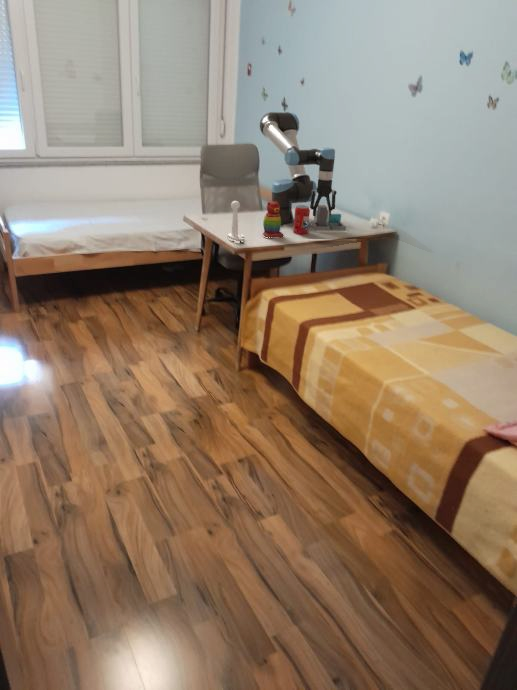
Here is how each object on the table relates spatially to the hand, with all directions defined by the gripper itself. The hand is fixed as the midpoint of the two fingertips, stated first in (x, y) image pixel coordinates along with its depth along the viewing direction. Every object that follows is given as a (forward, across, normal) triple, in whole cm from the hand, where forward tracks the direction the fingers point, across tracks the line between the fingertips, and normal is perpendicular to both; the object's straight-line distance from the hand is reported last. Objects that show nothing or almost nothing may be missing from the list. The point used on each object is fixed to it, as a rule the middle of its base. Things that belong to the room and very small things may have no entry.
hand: (321, 221), depth 290 cm
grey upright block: (+3, 0, 0) cm, 3 cm away
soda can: (+5, -14, -9) cm, 17 cm away
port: (+3, +9, +2) cm, 10 cm away
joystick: (+5, -49, -19) cm, 53 cm away
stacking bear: (+5, -30, -11) cm, 32 cm away
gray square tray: (+4, +4, 0) cm, 6 cm away
